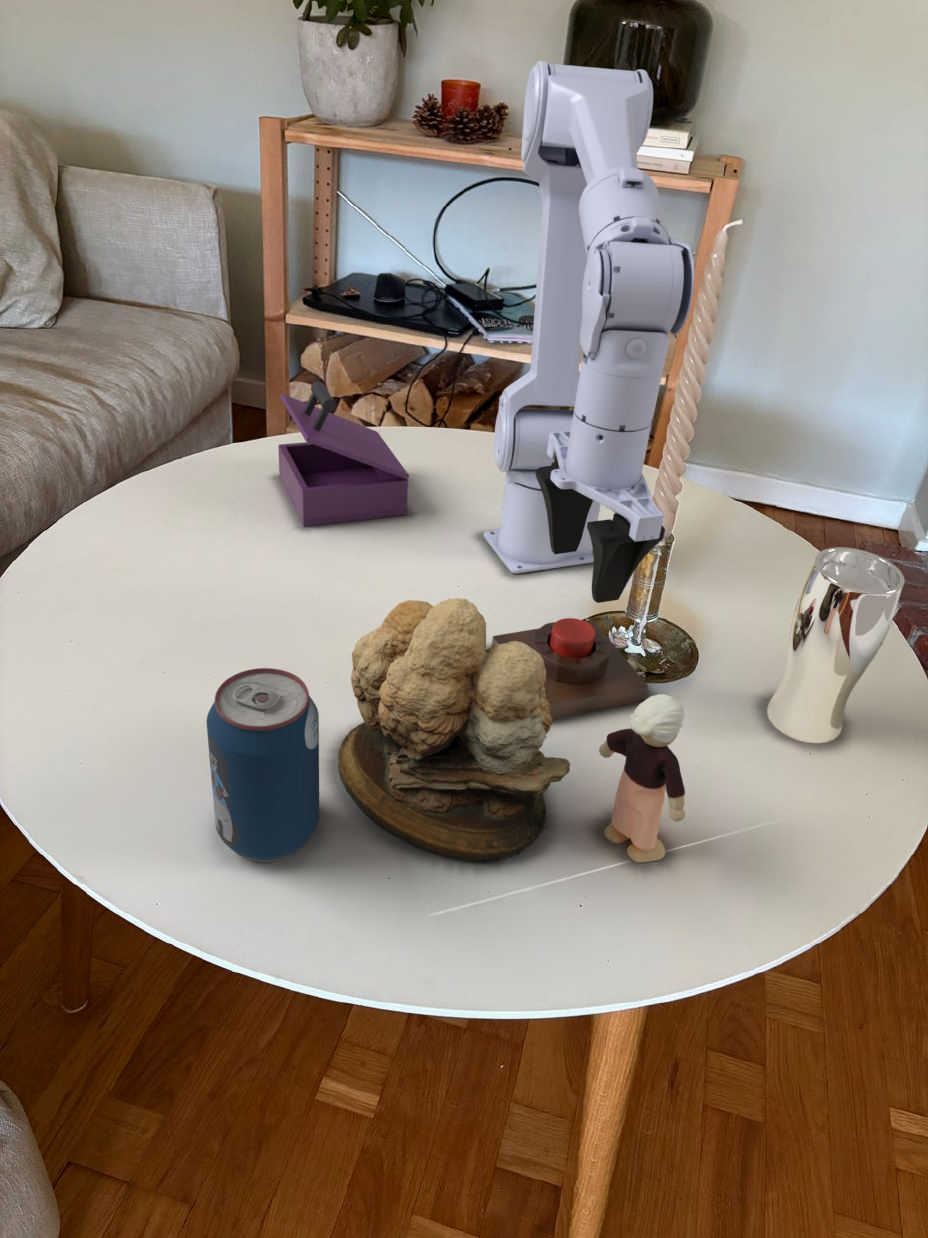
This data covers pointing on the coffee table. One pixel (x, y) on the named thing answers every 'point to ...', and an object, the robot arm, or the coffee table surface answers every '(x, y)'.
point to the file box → (337, 486)
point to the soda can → (264, 763)
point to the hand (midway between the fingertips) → (584, 574)
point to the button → (572, 638)
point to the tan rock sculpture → (449, 733)
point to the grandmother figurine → (646, 776)
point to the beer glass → (833, 640)
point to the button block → (582, 674)
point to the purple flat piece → (340, 432)
